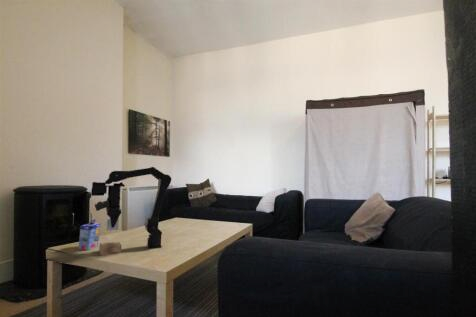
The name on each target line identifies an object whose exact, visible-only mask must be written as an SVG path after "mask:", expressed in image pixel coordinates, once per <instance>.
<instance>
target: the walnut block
mask: <svg viewBox="0 0 476 317" xmlns="http://www.w3.org/2000/svg"><path fill="white" fill-rule="evenodd" d="M98 247H99V250H98V251H99V255H100V256H107V255H116V254H122V243H121V242H120V241H114V242H113V241H112V242H101V243H100V242H99V246H98Z"/></svg>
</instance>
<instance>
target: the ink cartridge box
mask: <svg viewBox="0 0 476 317" xmlns="http://www.w3.org/2000/svg"><path fill="white" fill-rule="evenodd" d="M96 220H97V219H92V220H91V221H90V222H89V223H84V224H82V225H80V226H79V227H80V228H79V239H78V240H79V241H78V250H81V251H89V250H91V249H93V248H96V247H99V246H100V234H101V232H100V231H101V222H96Z"/></svg>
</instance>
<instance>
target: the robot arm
mask: <svg viewBox="0 0 476 317" xmlns="http://www.w3.org/2000/svg"><path fill="white" fill-rule="evenodd" d="M149 175H151V176H152V177H154V178H155V179H156V180H157V192H156V196H155V199H154V203H153V206H152V210H151V213H150V215H149V217H146V218H145V222H144V224H143V225H144V228H145V231H147V233H148V236H147V239H146V240H147V241H146V247H147V248H148V249H156V248H158V249H159V248H162V247H163V246H162V235H163V231H161V230H160V229H159V220H160V219H159V218H160V213H161V210H162V206H163V202H164V199H165V195H166V191H167V190H168V188H169V187H170V185H171V182H172V177H171V175H169V174H165V173H163V172H162V171H160V170H159V169H157V168H156V167H154V166H151V167H146V168H140V169H134V170H132V169H131V170H113V171H111V172H109V175H108V178H107V179H106V180H105V182H98V181H93V182H92V186H91V190H90V191H91V192H90V193H91V195H90V196H93V197H97V196H98V197H99V196H100V197H103V196H104V195H105V194H107V198H106V200H104V201H101V200H99V201H98V202H96V203H95V204H94V208H95V210H96V212H99V211H100V210H103V209H105V212H106V215H107V216H108V217H109V219H110V220H111V227H112V228H114V226H115V224H116V222H117V220H118V219H119V217H120V216H121V215H122V209H121V189H122V187H126V185H125V184H124V183H123V181H124V180H127V179H130V178H131V179H132V178H135V177H136V178H137V177H142V176H149ZM112 183H113V184H112ZM110 184H112V185H110Z"/></svg>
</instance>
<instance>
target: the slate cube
mask: <svg viewBox="0 0 476 317" xmlns="http://www.w3.org/2000/svg"><path fill="white" fill-rule="evenodd" d="M118 230H119V218H118V220H117V222H116V224H115V226H114V228H112V227H111V220H110V218H107V219H106V231H118Z"/></svg>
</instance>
